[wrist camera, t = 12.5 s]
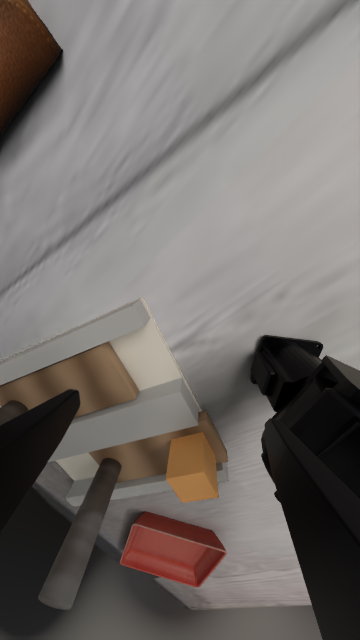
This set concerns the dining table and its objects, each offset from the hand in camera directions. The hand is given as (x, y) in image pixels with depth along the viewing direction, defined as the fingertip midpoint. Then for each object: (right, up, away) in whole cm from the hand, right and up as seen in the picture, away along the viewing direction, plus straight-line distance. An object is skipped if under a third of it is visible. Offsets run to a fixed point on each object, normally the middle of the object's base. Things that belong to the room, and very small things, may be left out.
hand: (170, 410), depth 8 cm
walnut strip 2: (-3, -15, +18) cm, 24 cm away
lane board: (-11, -10, +19) cm, 24 cm away
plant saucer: (-1, -42, +30) cm, 52 cm away
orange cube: (+2, -13, +16) cm, 20 cm away
